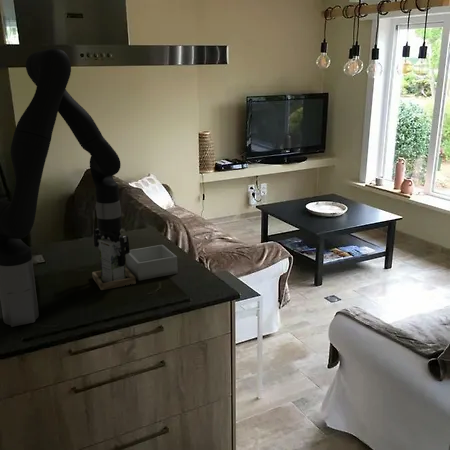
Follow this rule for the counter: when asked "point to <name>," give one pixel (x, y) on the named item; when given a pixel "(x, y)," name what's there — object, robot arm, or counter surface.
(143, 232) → the counter surface
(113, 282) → the socket collar
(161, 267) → the bin
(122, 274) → the syrup box
